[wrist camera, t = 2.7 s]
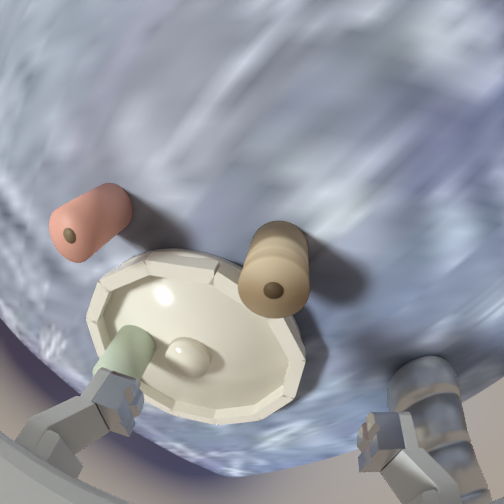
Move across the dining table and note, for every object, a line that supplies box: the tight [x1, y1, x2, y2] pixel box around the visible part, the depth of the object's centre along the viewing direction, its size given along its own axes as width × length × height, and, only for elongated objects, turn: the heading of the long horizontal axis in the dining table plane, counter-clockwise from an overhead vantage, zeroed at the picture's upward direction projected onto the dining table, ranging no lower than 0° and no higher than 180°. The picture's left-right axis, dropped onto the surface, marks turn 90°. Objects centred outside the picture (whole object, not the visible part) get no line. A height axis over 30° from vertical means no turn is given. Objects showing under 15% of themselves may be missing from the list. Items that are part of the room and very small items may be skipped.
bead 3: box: [238, 221, 310, 319], centre depth 17 cm, size 4×4×5 cm
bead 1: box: [49, 183, 133, 263], centre depth 18 cm, size 4×4×5 cm
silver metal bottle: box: [387, 356, 492, 504], centre depth 14 cm, size 6×7×20 cm
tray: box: [86, 248, 306, 425], centre depth 24 cm, size 18×18×2 cm
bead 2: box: [93, 325, 156, 381], centre depth 22 cm, size 4×4×5 cm
